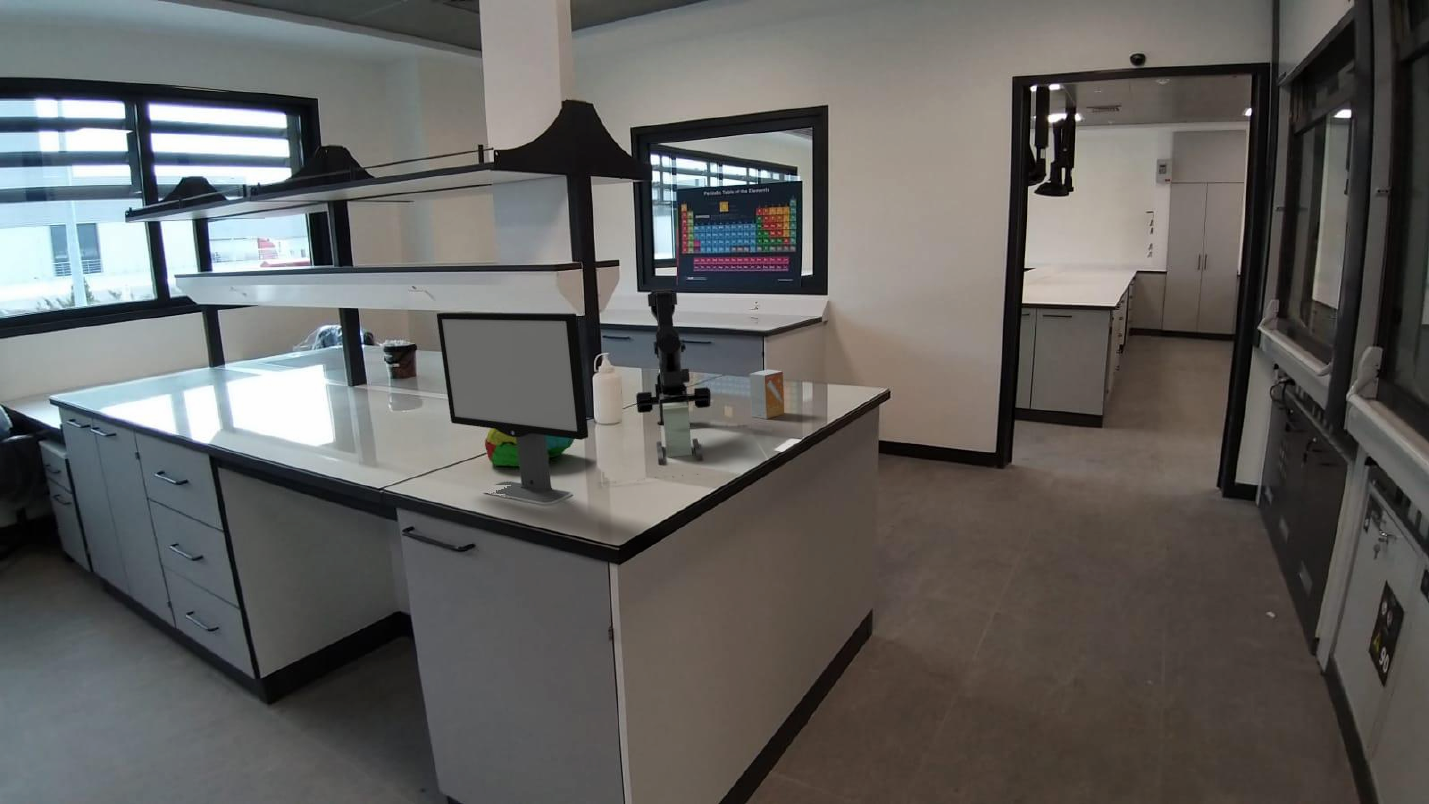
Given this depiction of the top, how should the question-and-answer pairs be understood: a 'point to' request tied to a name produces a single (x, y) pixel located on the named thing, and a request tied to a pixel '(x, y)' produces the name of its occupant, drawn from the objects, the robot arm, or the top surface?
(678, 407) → the sage block
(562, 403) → the computer monitor
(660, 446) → the walnut chute
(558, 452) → the brain model
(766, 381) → the small box
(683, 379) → the robot arm
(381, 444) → the top surface
